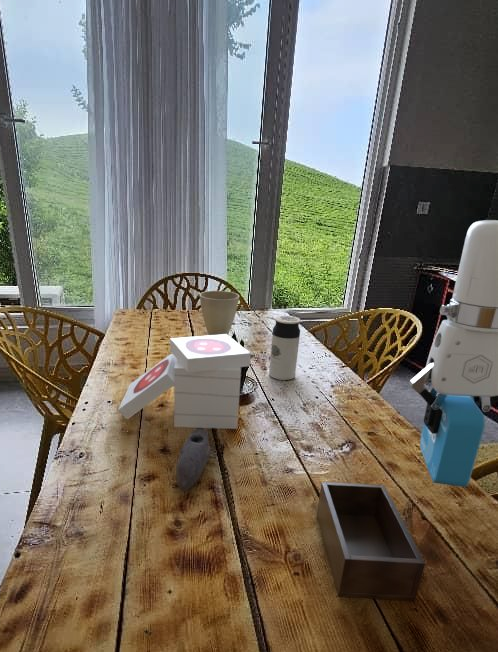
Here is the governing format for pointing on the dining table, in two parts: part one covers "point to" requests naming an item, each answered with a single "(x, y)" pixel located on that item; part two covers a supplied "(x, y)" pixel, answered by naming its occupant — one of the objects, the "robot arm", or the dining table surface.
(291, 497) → the dining table surface
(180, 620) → the dining table surface
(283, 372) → the travel mug
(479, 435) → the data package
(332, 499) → the box
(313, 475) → the dining table surface
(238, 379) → the pizza boxes
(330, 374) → the dining table surface
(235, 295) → the plant pot
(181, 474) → the perforated stone tool
